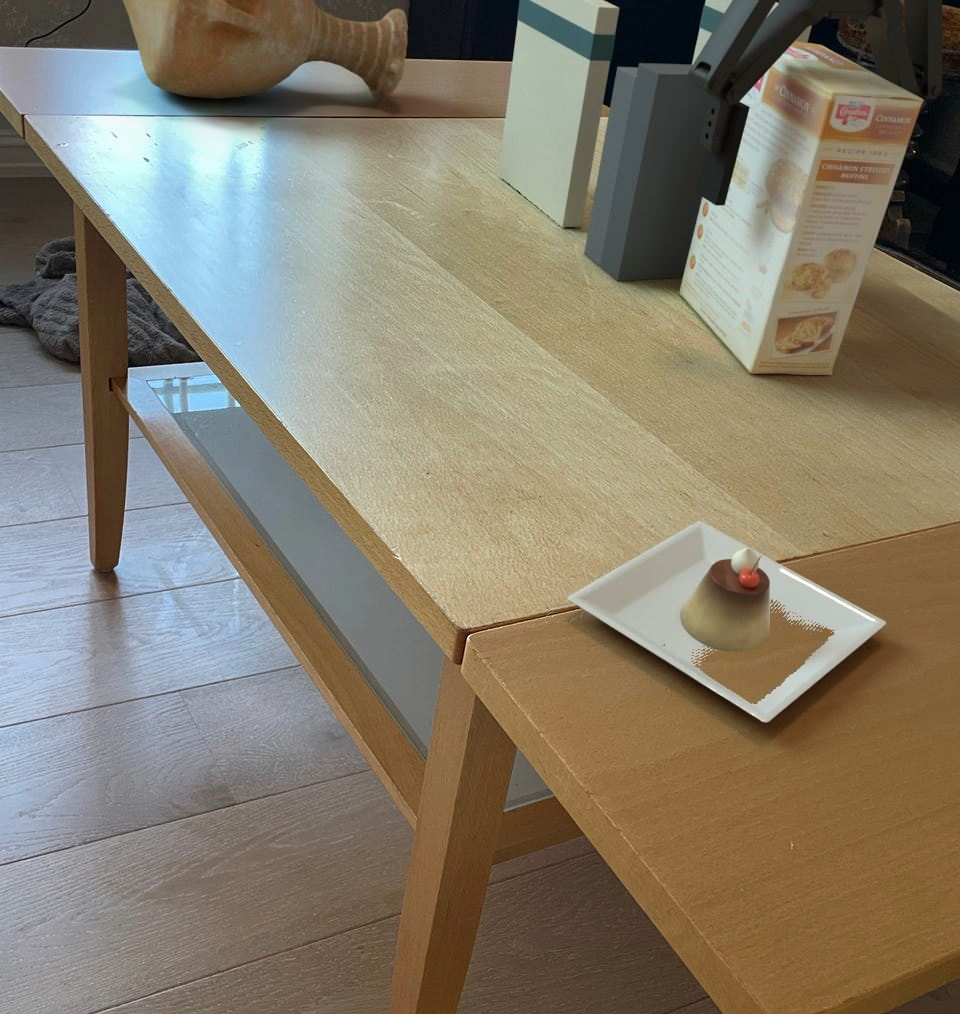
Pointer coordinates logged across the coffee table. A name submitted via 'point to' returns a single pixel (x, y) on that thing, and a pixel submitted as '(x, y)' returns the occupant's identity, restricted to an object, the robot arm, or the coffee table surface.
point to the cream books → (565, 98)
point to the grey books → (648, 174)
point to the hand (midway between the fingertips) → (786, 198)
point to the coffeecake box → (799, 211)
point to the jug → (260, 45)
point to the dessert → (722, 609)
